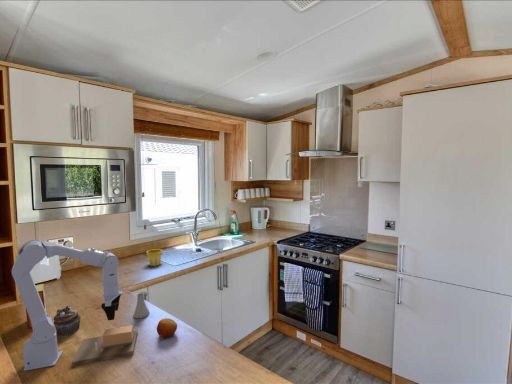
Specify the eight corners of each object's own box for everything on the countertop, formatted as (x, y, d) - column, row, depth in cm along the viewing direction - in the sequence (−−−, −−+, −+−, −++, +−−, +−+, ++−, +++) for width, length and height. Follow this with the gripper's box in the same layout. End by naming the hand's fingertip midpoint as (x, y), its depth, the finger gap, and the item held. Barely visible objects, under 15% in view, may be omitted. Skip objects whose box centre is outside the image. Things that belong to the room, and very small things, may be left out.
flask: (133, 312, 138) (132, 292, 137) (149, 309, 141) (148, 290, 140) (133, 320, 132) (131, 299, 131) (149, 317, 134) (148, 296, 133)
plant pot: (148, 262, 209) (147, 249, 208) (163, 261, 211) (162, 248, 210) (146, 267, 199) (145, 253, 198) (161, 266, 201) (161, 252, 200)
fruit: (149, 334, 118) (157, 314, 120) (165, 336, 123) (173, 317, 125) (158, 342, 112) (167, 321, 115) (174, 344, 117) (182, 324, 120)
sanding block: (103, 348, 109) (102, 336, 109) (106, 341, 113) (105, 329, 113) (132, 343, 112) (131, 331, 111) (133, 337, 116) (132, 325, 116)
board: (72, 366, 102) (71, 361, 102) (83, 342, 116) (83, 339, 115) (133, 354, 108) (133, 350, 107) (137, 333, 121) (137, 330, 121)
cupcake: (63, 339, 118) (61, 315, 117) (50, 333, 123) (47, 310, 122) (86, 327, 127) (84, 305, 126) (73, 322, 131) (71, 301, 130)
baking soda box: (29, 319, 134) (25, 286, 132) (46, 315, 137) (43, 282, 136) (27, 329, 126) (24, 293, 124) (46, 324, 130) (42, 289, 128)
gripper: (118, 289, 111) (120, 322, 113) (124, 275, 125) (126, 305, 127) (97, 291, 110) (100, 325, 111) (106, 277, 124) (109, 307, 125)
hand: (113, 314), depth 119 cm, fingers open, 7 cm apart
